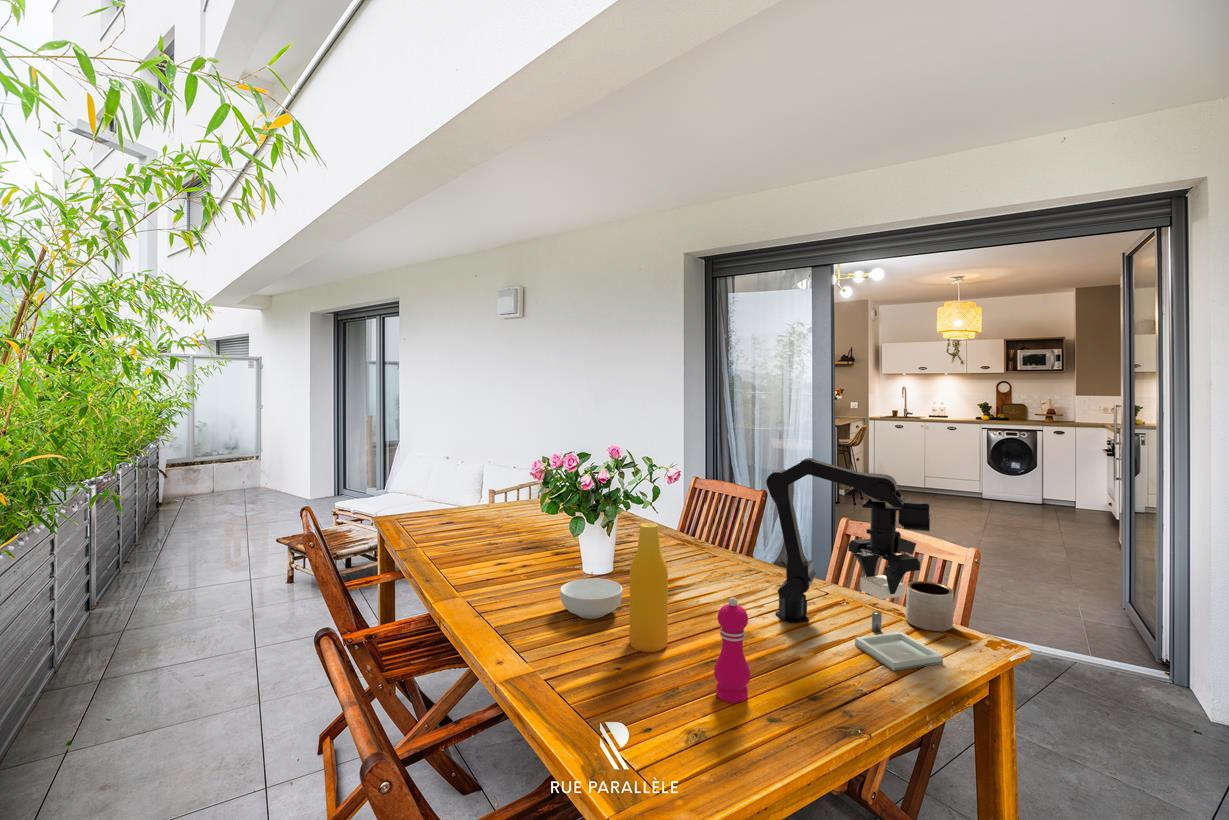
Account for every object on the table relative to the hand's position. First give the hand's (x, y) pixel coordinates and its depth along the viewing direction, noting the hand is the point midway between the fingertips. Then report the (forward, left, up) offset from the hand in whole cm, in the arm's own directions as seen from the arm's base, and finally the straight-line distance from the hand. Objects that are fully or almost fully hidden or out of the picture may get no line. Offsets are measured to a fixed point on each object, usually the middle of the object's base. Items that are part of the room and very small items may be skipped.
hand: (881, 588), depth 147 cm
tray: (-3, -10, -12) cm, 16 cm away
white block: (0, 0, -1) cm, 1 cm away
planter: (+17, +2, -12) cm, 21 cm away
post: (+1, +2, -12) cm, 12 cm away
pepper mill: (-48, -16, -12) cm, 52 cm away
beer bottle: (-57, +10, -12) cm, 60 cm away
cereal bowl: (-66, +32, -12) cm, 75 cm away
